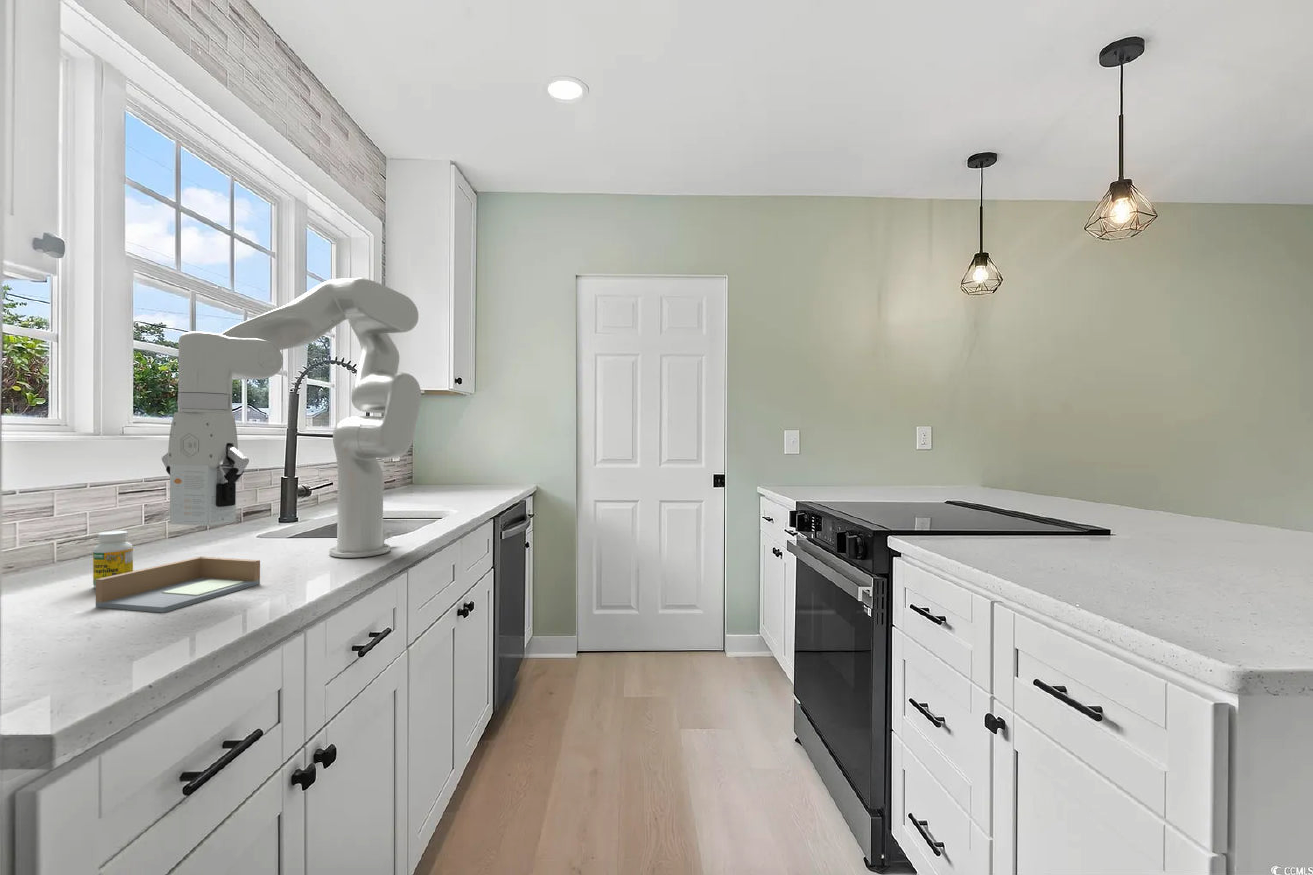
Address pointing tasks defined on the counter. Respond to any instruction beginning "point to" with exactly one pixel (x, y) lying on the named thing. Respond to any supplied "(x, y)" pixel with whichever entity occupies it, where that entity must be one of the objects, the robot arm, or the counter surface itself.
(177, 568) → the arena
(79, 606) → the counter surface
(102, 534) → the supplement bottle
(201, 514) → the small box
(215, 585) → the pad
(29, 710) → the counter surface
